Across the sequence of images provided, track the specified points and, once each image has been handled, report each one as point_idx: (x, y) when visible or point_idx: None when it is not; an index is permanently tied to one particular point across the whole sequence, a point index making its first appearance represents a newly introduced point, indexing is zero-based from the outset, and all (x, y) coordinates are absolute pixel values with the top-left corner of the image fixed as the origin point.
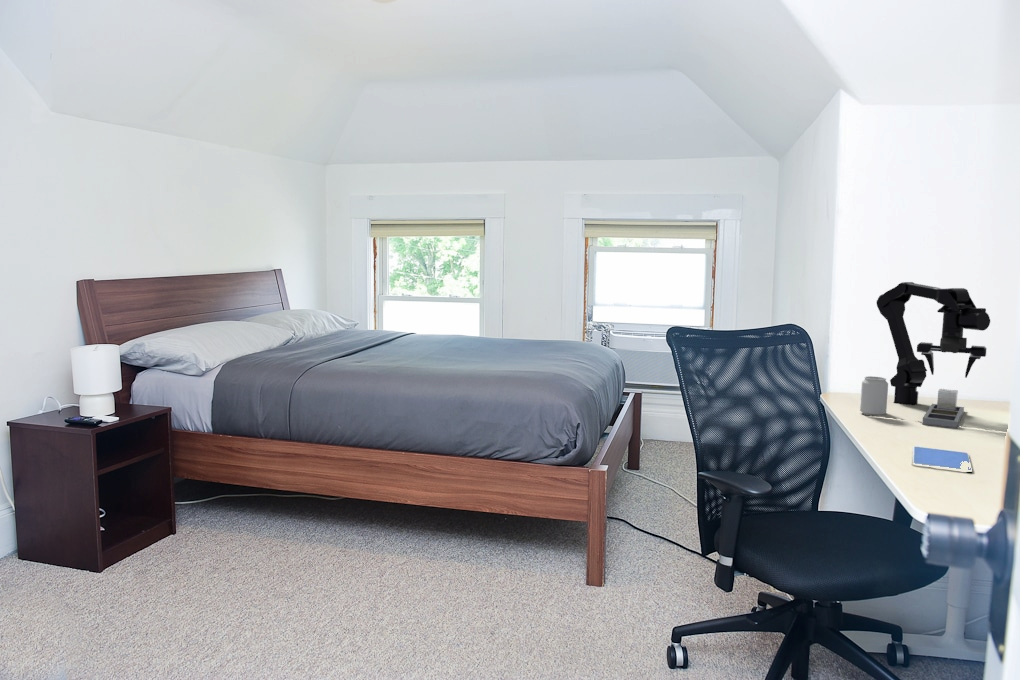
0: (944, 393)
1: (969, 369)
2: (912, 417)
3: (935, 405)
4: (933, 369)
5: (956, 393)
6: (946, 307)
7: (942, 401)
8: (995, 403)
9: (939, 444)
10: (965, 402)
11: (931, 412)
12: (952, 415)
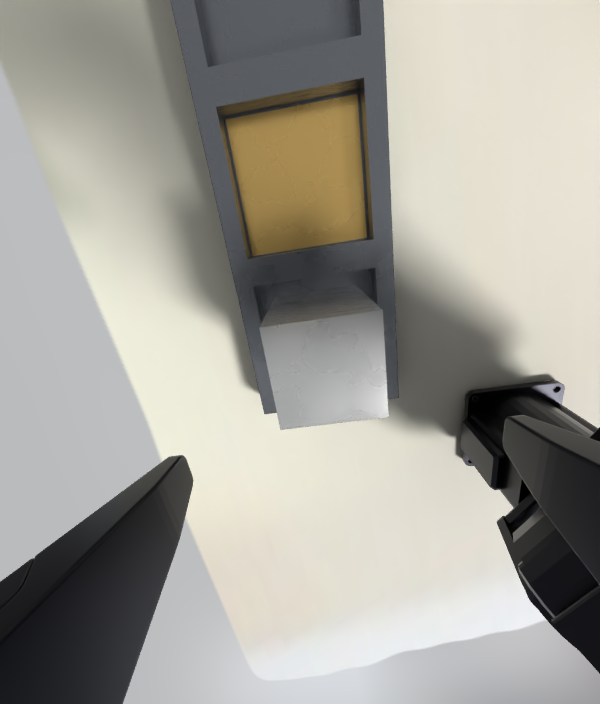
0: (337, 313)
1: (72, 533)
2: (448, 63)
3: None
4: (556, 470)
5: (260, 329)
6: None
7: (339, 299)
8: (243, 621)
9: None
10: (317, 588)
11: (367, 186)
12: (233, 87)
